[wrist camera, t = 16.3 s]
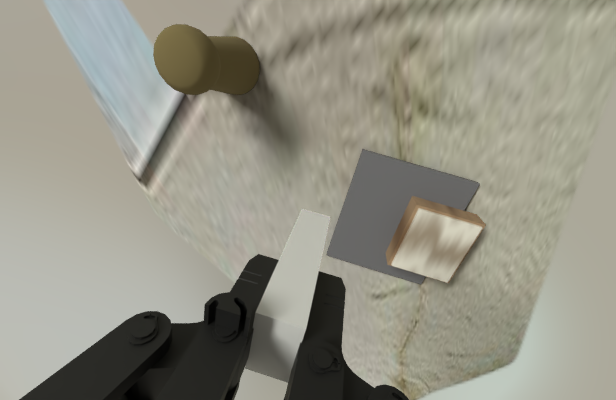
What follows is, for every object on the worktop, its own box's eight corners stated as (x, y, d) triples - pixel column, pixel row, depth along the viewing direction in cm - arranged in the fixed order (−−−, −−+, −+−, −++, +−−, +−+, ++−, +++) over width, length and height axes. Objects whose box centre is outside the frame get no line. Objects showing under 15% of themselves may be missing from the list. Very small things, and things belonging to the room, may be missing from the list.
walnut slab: (417, 206, 30) (487, 226, 29) (412, 195, 32) (476, 214, 32) (387, 266, 34) (449, 285, 33) (385, 252, 36) (442, 270, 36)
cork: (227, 103, 32) (169, 113, 22) (200, 53, 30) (124, 39, 21) (268, 80, 30) (226, 80, 20) (242, 25, 28) (181, -5, 19)
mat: (362, 149, 32) (362, 150, 31) (477, 182, 31) (479, 183, 30) (326, 252, 39) (326, 255, 38) (420, 281, 38) (420, 284, 37)
